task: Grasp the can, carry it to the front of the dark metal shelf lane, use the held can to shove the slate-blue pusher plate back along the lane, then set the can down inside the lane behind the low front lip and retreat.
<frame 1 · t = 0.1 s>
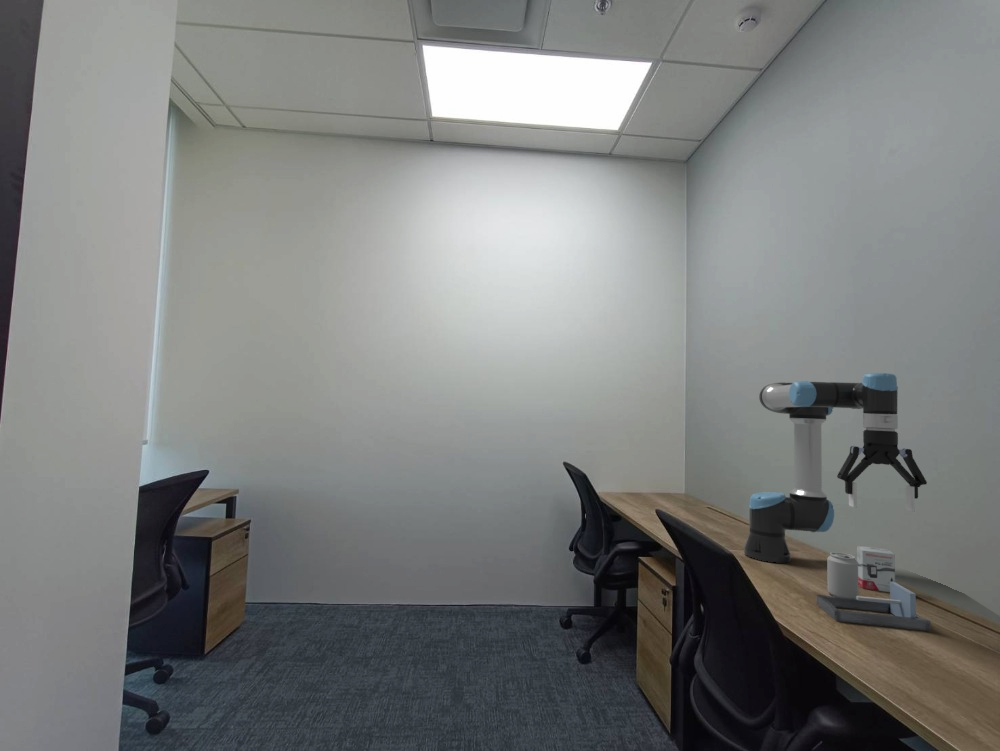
hand: (881, 508, 134), 28 cm above the table, fingers open, 13 cm apart
pusher: (880, 601, 130), point 4 cm above the table, slide at 0.0 cm
can: (842, 597, 145), on the table
lane: (870, 616, 130), on the table
ink box: (875, 589, 153), on the table
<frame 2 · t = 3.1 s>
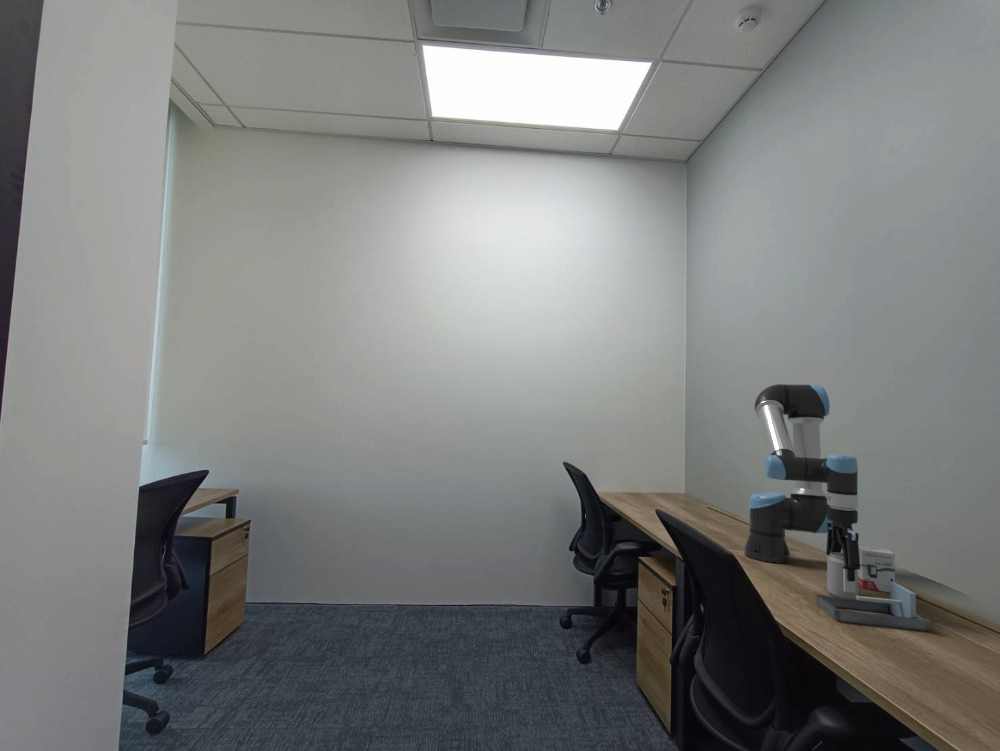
hand: (842, 586, 145), 3 cm above the table, fingers closed on can, 7 cm apart
can: (842, 596, 145), on the table, touching gripper
everything else where it was.
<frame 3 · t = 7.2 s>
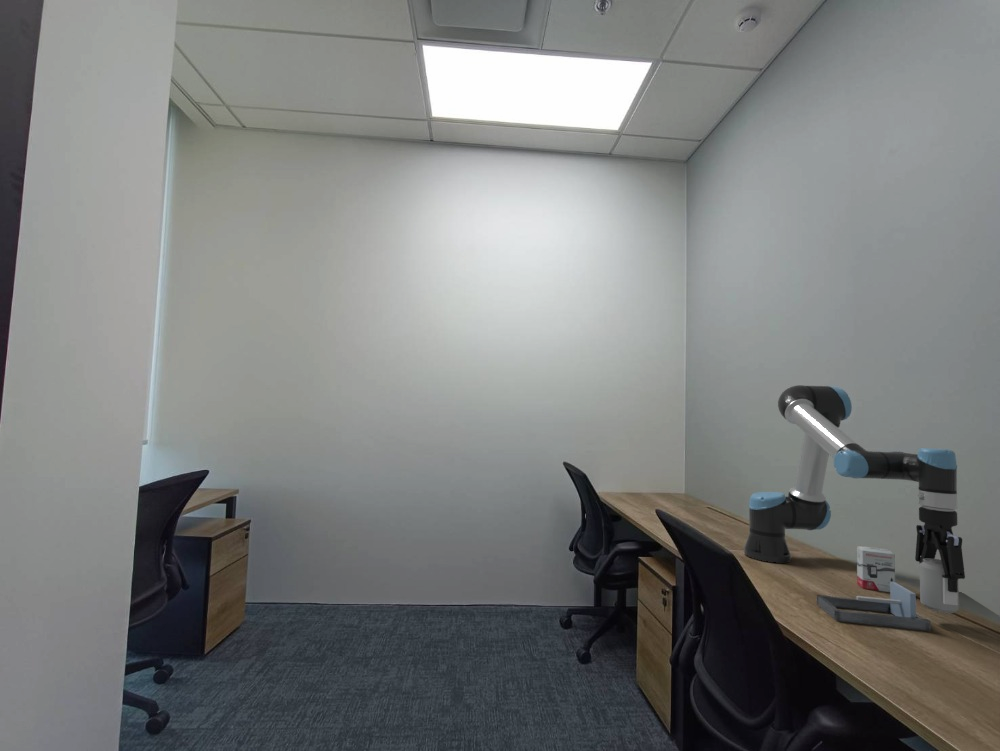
hand: (939, 598, 128), 7 cm above the table, fingers closed on can, 7 cm apart
can: (939, 609, 128), point 4 cm above the table, touching gripper
everything else where it was.
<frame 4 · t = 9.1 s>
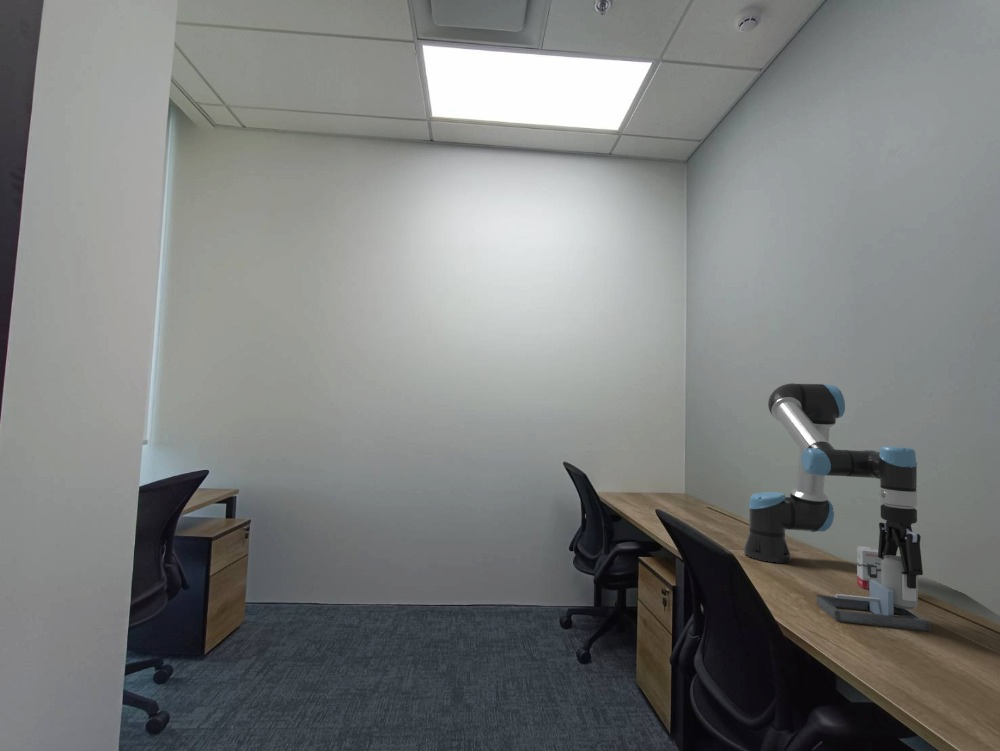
hand: (899, 594, 130), 6 cm above the table, fingers closed on can, 7 cm apart
pusher: (859, 599, 131), point 4 cm above the table, slide at 5.0 cm, touching can
can: (899, 605, 129), point 4 cm above the table, touching gripper, pusher
everything else where it was.
when the fingers open (4 cm above the table, at t = 11.2 s): can drops 1 cm, resting in lane.
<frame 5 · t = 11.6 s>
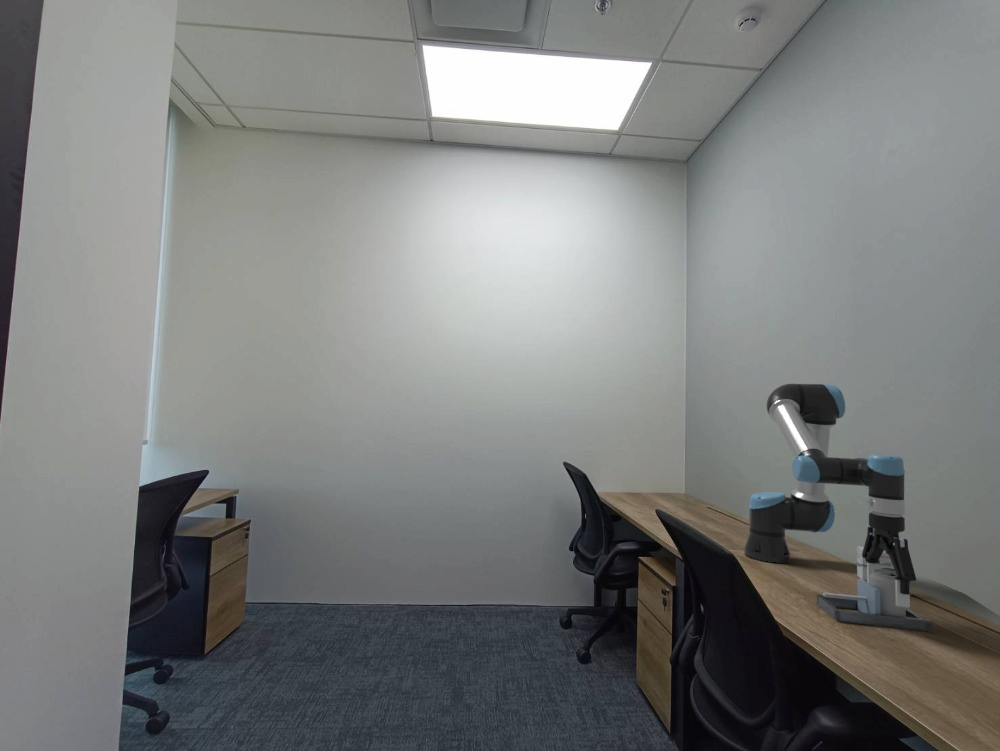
hand: (887, 596, 130), 6 cm above the table, fingers open, 13 cm apart
pusher: (847, 597, 132), point 4 cm above the table, slide at 7.9 cm
can: (887, 619, 130), resting in lane
everything else where it was.
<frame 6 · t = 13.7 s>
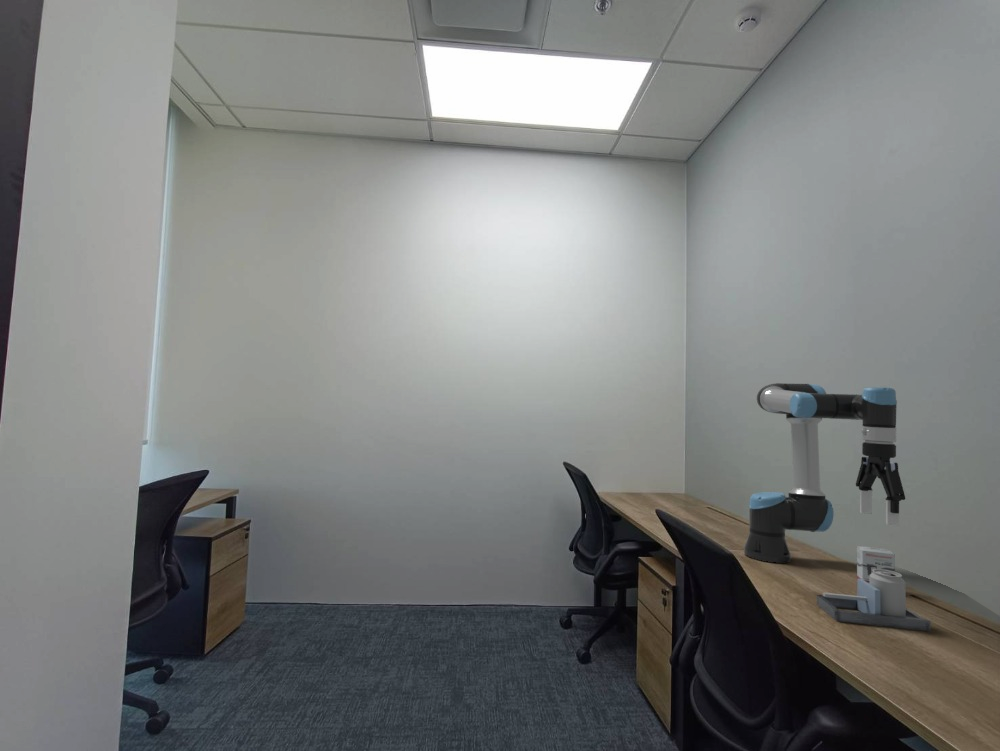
hand: (878, 519, 138), 24 cm above the table, fingers open, 13 cm apart
nothing on the table moved.
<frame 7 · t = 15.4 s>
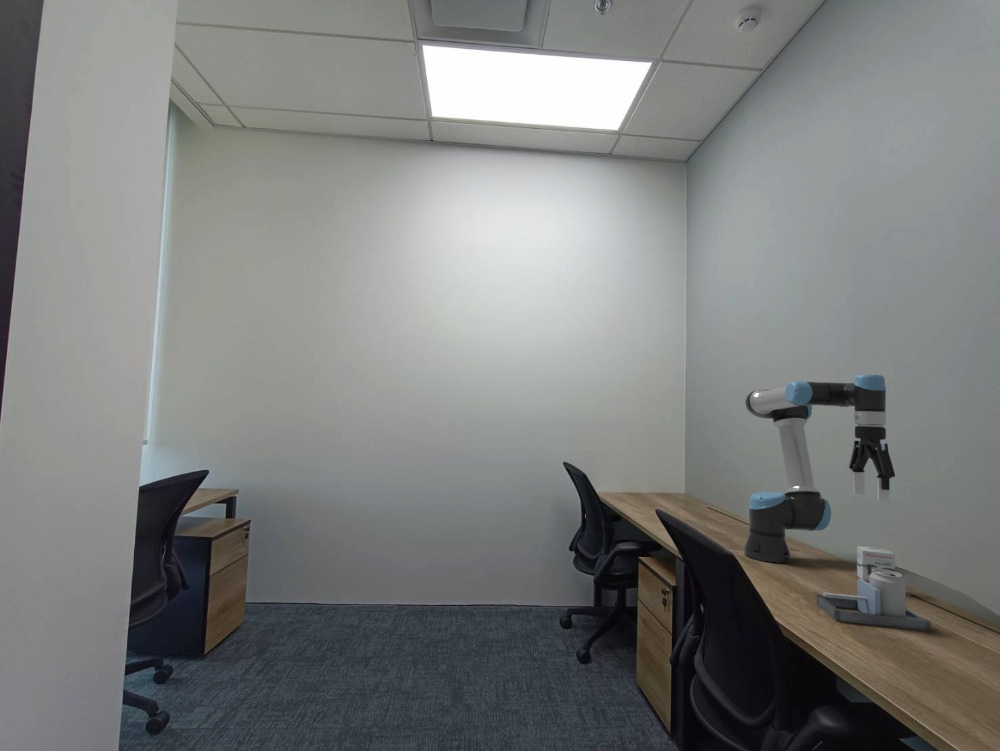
hand: (870, 497, 148), 29 cm above the table, fingers open, 13 cm apart
nothing on the table moved.
at the end: pusher slide at 7.9 cm; can inside the target area (0.8 cm from its centre), resting in lane; can tilted 0° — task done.
